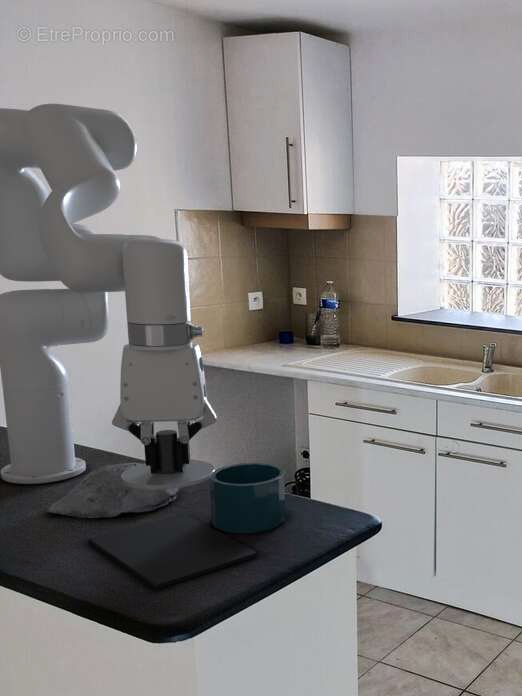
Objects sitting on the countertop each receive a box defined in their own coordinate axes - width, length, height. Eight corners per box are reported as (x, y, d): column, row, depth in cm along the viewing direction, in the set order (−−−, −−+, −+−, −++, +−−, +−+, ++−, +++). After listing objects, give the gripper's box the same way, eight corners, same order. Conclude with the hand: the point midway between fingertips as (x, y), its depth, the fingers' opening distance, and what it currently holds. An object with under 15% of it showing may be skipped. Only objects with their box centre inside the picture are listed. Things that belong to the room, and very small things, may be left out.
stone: (116, 458, 137) (191, 445, 133) (128, 500, 138) (202, 489, 134) (33, 485, 120) (116, 472, 116) (46, 533, 121) (129, 522, 117)
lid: (130, 468, 112) (127, 422, 111) (218, 465, 115) (216, 420, 114) (112, 496, 101) (108, 445, 100) (210, 491, 104) (208, 442, 103)
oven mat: (88, 542, 112) (88, 538, 111) (185, 517, 122) (185, 513, 122) (156, 589, 99) (156, 585, 99) (257, 556, 110) (257, 552, 110)
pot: (215, 509, 126) (213, 464, 124) (285, 505, 129) (284, 461, 127) (208, 535, 116) (206, 486, 114) (285, 531, 119) (283, 483, 117)
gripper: (228, 331, 110) (234, 459, 114) (98, 331, 105) (108, 464, 109) (224, 339, 103) (230, 475, 107) (83, 339, 98) (95, 481, 102)
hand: (168, 468), depth 108 cm, fingers closed on lid, 2 cm apart
